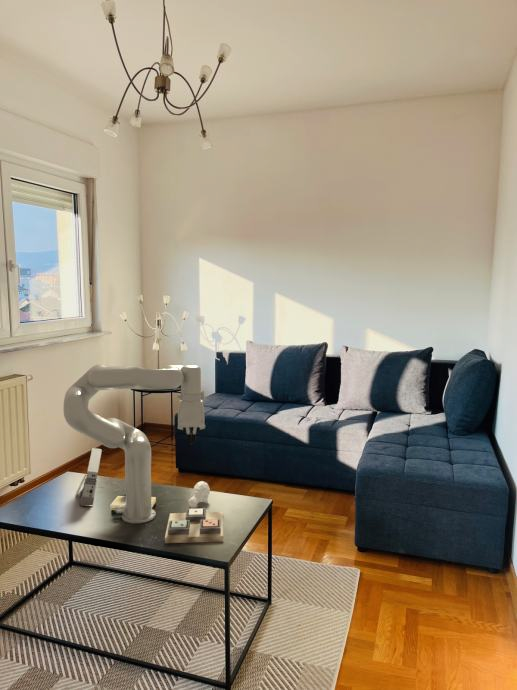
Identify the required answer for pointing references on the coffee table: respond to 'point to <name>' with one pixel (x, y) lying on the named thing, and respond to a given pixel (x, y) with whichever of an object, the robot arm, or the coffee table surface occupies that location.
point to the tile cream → (196, 512)
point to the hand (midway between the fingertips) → (191, 443)
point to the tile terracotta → (210, 523)
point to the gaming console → (90, 478)
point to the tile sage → (179, 524)
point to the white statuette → (199, 494)
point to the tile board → (195, 528)
